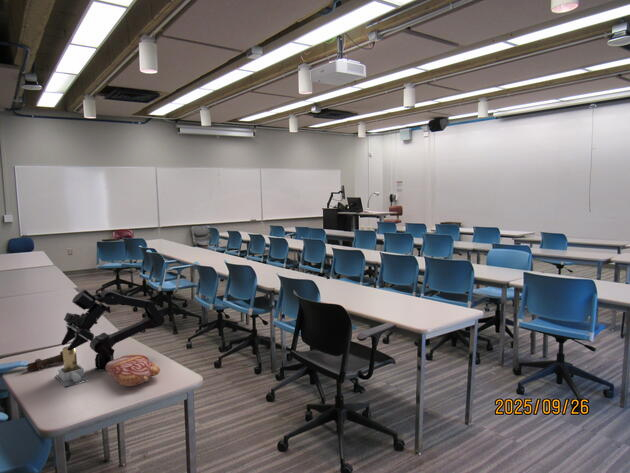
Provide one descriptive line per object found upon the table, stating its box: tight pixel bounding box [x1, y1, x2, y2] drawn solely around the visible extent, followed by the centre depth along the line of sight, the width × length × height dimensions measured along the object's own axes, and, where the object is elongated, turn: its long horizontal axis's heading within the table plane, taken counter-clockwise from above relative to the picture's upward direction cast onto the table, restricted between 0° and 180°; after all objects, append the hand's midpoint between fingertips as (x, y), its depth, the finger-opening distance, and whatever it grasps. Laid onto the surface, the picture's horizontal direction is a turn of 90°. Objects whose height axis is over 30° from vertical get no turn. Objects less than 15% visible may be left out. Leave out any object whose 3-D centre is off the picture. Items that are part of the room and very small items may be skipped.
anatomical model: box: [105, 353, 161, 387], centre depth 177 cm, size 17×7×30 cm
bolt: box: [26, 350, 64, 372], centre depth 190 cm, size 6×5×15 cm
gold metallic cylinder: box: [62, 345, 78, 373], centre depth 178 cm, size 5×5×12 cm
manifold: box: [55, 363, 91, 388], centre depth 177 cm, size 9×14×4 cm, turn 44°
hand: (65, 347), depth 176 cm, fingers open, 9 cm apart
